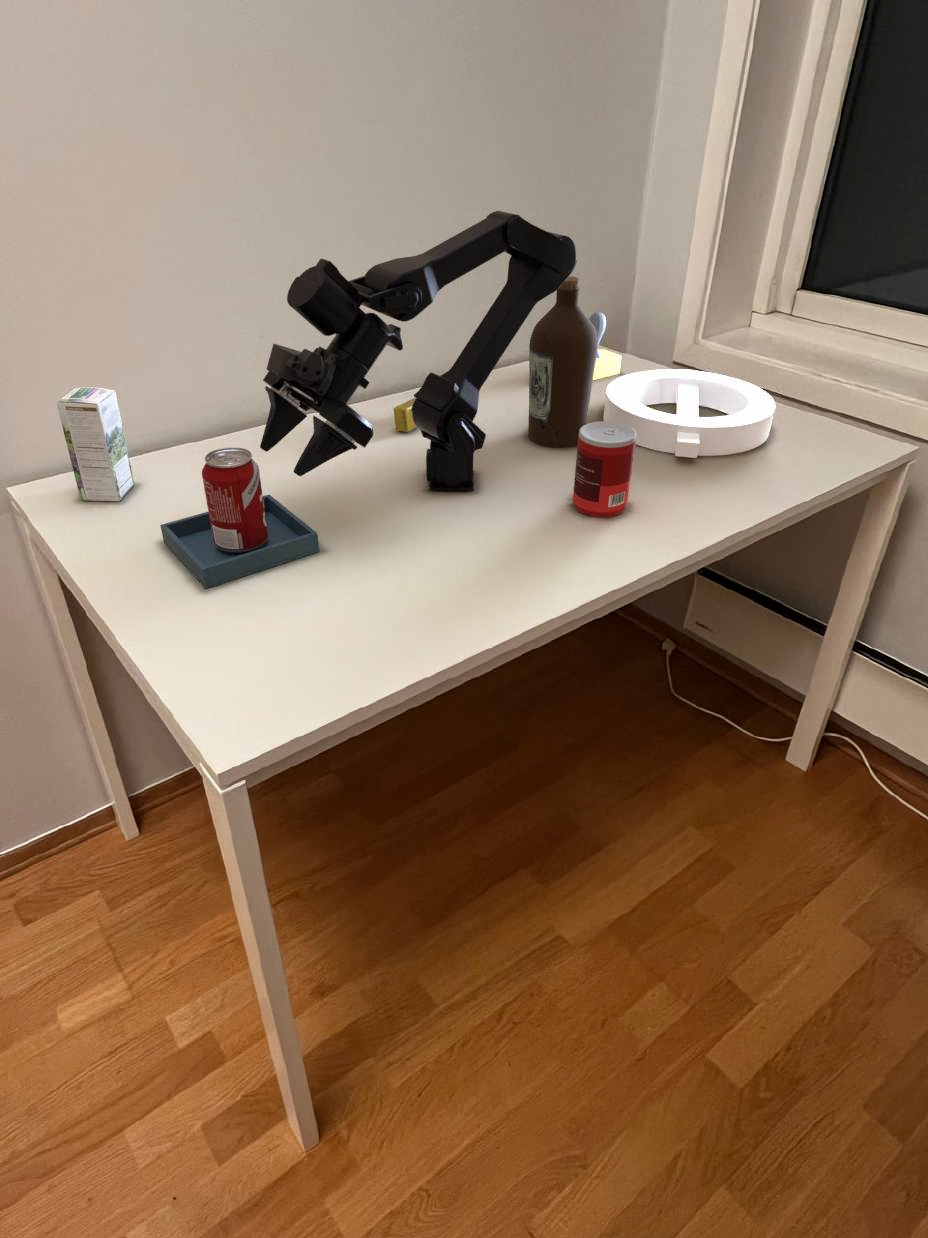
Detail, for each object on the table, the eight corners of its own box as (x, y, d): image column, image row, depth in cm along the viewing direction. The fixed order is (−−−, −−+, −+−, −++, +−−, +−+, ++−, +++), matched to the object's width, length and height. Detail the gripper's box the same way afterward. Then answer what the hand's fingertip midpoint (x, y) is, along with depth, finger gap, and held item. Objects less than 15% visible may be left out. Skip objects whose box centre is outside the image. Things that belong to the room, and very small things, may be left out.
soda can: (239, 562, 104) (225, 472, 97) (203, 546, 107) (187, 458, 100) (279, 541, 108) (268, 454, 101) (244, 526, 111) (231, 440, 105)
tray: (271, 511, 116) (269, 494, 114) (319, 551, 107) (317, 533, 105) (164, 543, 108) (159, 524, 107) (205, 589, 99) (202, 569, 98)
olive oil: (568, 421, 145) (581, 267, 131) (600, 443, 137) (618, 283, 123) (513, 430, 142) (520, 273, 127) (543, 453, 134) (555, 289, 119)
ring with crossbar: (685, 385, 161) (689, 360, 159) (804, 433, 142) (811, 406, 139) (570, 412, 149) (573, 386, 146) (684, 469, 129) (689, 440, 127)
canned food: (631, 497, 121) (641, 424, 115) (621, 522, 115) (631, 446, 108) (579, 489, 123) (586, 417, 117) (566, 513, 117) (573, 438, 110)
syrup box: (97, 483, 123) (72, 386, 114) (137, 485, 122) (114, 387, 114) (80, 501, 118) (53, 400, 110) (121, 502, 118) (97, 402, 109)
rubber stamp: (600, 366, 170) (606, 305, 163) (620, 374, 166) (627, 311, 160) (563, 375, 165) (568, 312, 159) (583, 383, 161) (589, 319, 155)
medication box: (434, 410, 149) (432, 388, 147) (447, 412, 147) (445, 389, 145) (394, 430, 140) (392, 406, 138) (408, 432, 139) (405, 408, 137)
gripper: (268, 301, 104) (198, 405, 105) (344, 336, 92) (264, 454, 93) (329, 353, 113) (264, 449, 114) (406, 392, 101) (333, 499, 101)
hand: (279, 461), depth 105 cm, fingers open, 9 cm apart
